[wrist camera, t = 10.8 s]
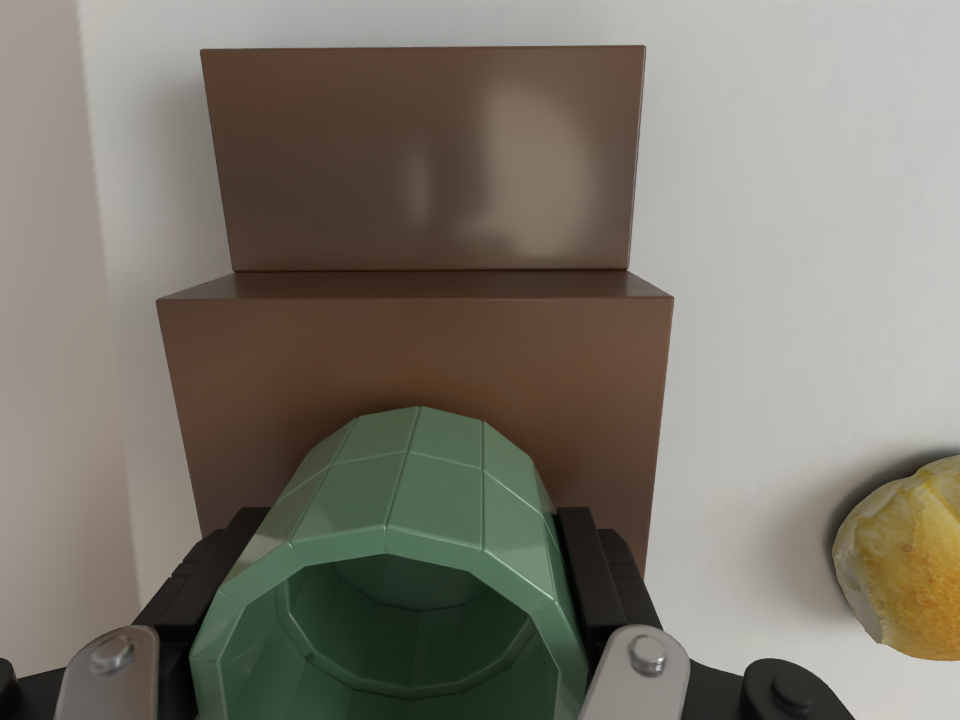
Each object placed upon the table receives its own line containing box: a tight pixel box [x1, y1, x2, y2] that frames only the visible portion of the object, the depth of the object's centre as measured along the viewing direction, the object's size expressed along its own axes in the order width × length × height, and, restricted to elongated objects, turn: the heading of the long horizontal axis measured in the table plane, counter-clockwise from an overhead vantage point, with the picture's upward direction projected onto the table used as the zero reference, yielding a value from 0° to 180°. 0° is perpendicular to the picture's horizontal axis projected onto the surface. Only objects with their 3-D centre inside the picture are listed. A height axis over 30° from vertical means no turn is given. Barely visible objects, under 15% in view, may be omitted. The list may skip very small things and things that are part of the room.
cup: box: [189, 406, 589, 720], centre depth 11 cm, size 6×6×5 cm
